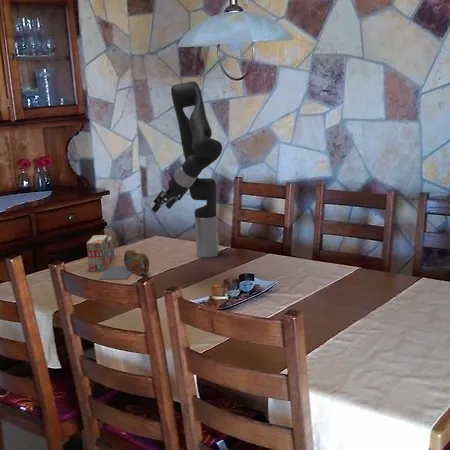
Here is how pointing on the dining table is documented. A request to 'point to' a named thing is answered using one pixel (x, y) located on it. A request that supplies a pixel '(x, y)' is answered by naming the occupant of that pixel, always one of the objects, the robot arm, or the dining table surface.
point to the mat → (116, 273)
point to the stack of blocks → (100, 252)
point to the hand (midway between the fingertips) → (160, 209)
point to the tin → (136, 262)
